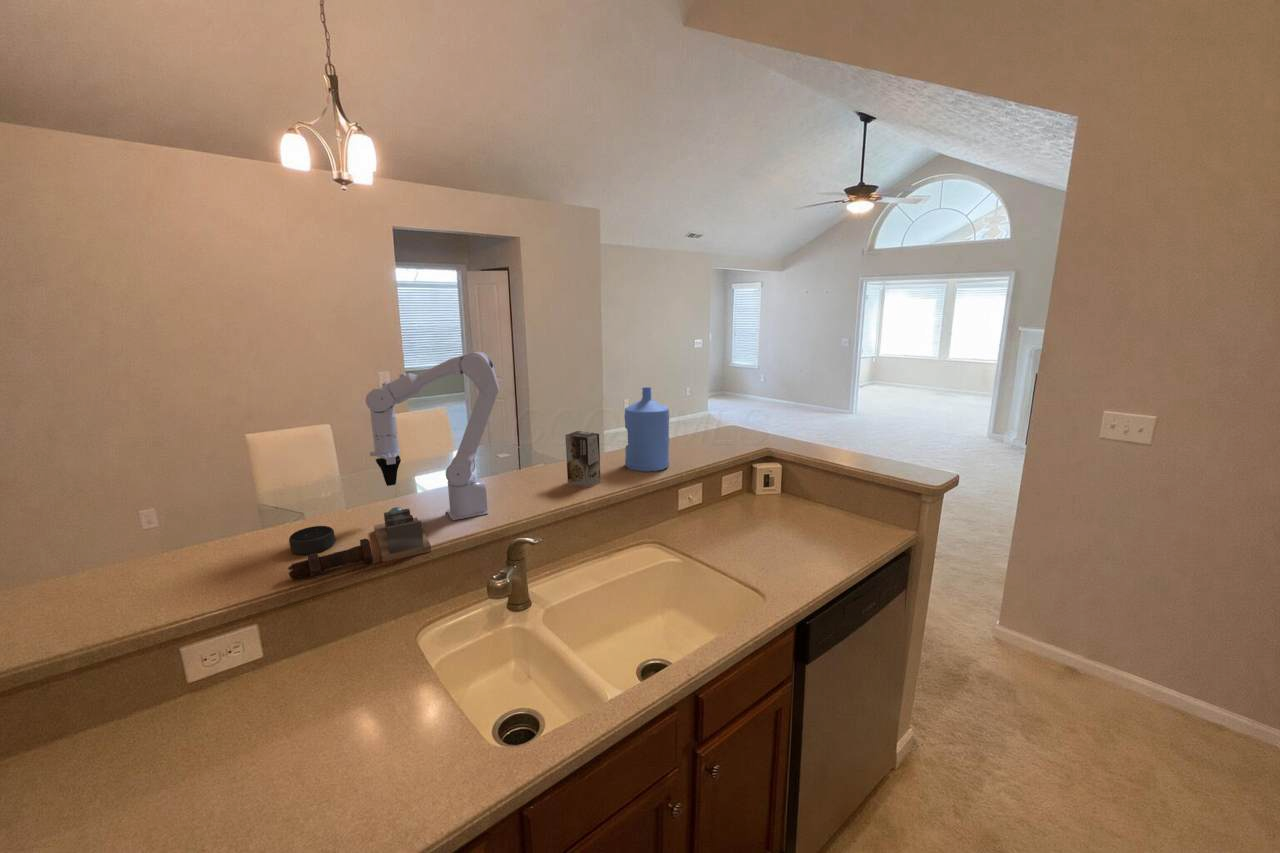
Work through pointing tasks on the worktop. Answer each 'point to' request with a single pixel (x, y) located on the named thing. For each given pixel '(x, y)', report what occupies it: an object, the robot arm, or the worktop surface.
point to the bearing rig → (401, 536)
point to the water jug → (647, 434)
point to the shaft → (397, 516)
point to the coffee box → (583, 458)
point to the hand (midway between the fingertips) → (391, 484)
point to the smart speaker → (312, 540)
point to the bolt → (332, 560)
